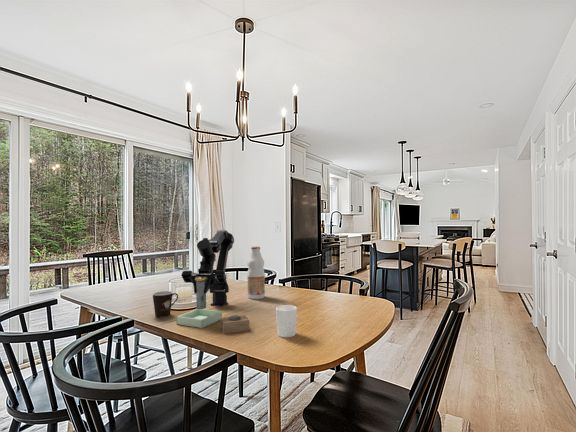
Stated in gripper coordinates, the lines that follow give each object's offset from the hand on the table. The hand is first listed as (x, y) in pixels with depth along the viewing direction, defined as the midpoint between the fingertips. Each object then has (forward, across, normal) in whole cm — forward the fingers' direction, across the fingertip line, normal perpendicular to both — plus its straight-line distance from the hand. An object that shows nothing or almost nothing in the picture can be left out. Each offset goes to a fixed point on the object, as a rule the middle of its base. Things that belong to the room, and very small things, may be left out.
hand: (200, 293), depth 140 cm
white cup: (+18, -37, +1) cm, 42 cm away
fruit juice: (-22, -17, -40) cm, 49 cm away
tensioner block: (+14, -16, -3) cm, 22 cm away
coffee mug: (+1, +20, -17) cm, 26 cm away
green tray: (+8, +1, -10) cm, 12 cm away
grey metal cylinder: (+4, 0, -6) cm, 7 cm away
